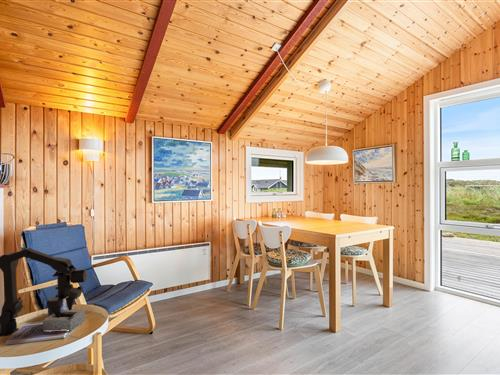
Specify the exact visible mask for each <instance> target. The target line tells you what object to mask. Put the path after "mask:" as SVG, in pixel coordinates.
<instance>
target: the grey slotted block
mask: <svg viewBox="0 0 500 375" xmlns="http://www.w3.org/2000/svg"><path fill="white" fill-rule="evenodd" d="M85 314H86V310H85V309H72V310H60V318H57V317H56V315H55V314H52V315H50V316H49V317H48V316H47V317H46V318H44V319H42V331H43V330H61V329H67V330H69V332H68V333H71V332H72V331H73V330H75V329H76V328H78V327H79V326H80V325H82V323H85V321H86V317H85V316H86V315H85Z"/></svg>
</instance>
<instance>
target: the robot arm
mask: <svg viewBox="0 0 500 375" xmlns="http://www.w3.org/2000/svg"><path fill="white" fill-rule="evenodd" d="M22 258H27V259H30V260H33V261H36V262H39V263H41V264H45V265H47V266H49V267H50V268H51V269H53V270H55V272H54V274H53V275H52V277H56V280H57V282H56V284H57V285H56V286H55V287H54V288H55V290H57V294H55V297H58V298H53V297H52V298H53V299H51V298H50V299H51V300H49V301H48V300H47V302H45V307H46V308H47V309H48V308H50V309H51V310H52V311H53V312H54V314H55V315H56V317H57V318H60V310H61V307H62V306H63V304H62V303H63V300H64V299H66V302H67V306H68V309H69V310H71V309H72V310H73V305H74V303H75V300H76V299H79V298H80V297H81V296H82V294H83V293H84V287H83V286H82V285H79V286H75V287H74V285H73V284H78V283H81V284H82V283H86V282H87V280H88V274H87V271H86V268H82V269H81V268H80V269H77V268H76V267H75V265H73V264H72V260H71V259H69V258H65V257H60V256H59V257H58V256H53V255H50V254H48V253H43V252H41V251H38V250H36V249H33V248H31V247H27V248H23V249H21V250H18V251H16V252H14V251H11V252H8V253H4V254H2V255H0V270H1V272H2V274H3V290H4V291H3V292H4V301H3V305H2V308H1V312H0V336H1V337H2V336H10V335H12V334H14V333H15V332H17V331H18V330H19V328H18V326H17V319H16V317H19V316H18V315H19V314H20V313H21V311H22V309H23V308H24V306H23V299H20V300H19V298H18V293H17V292H18V291H17V275H16V274H17V273H16V269H17V267H18V264H19V260H20V259H22Z"/></svg>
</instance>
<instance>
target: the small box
mask: <svg viewBox="0 0 500 375" xmlns="http://www.w3.org/2000/svg"><path fill="white" fill-rule="evenodd" d="M53 298H58V297H56V296H54V297H51V298H48V299H47V302H48V301H49V300H51V299H53ZM62 304H63V306H62V307H61V310H69V309H68V306H67V302H66V299H64V300H63V303H62ZM71 310H73V308H72V309H71ZM52 314H54V312H53V311H52V310H51V309H50V308H48V307H47V317H49V316H50V315H52Z"/></svg>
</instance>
